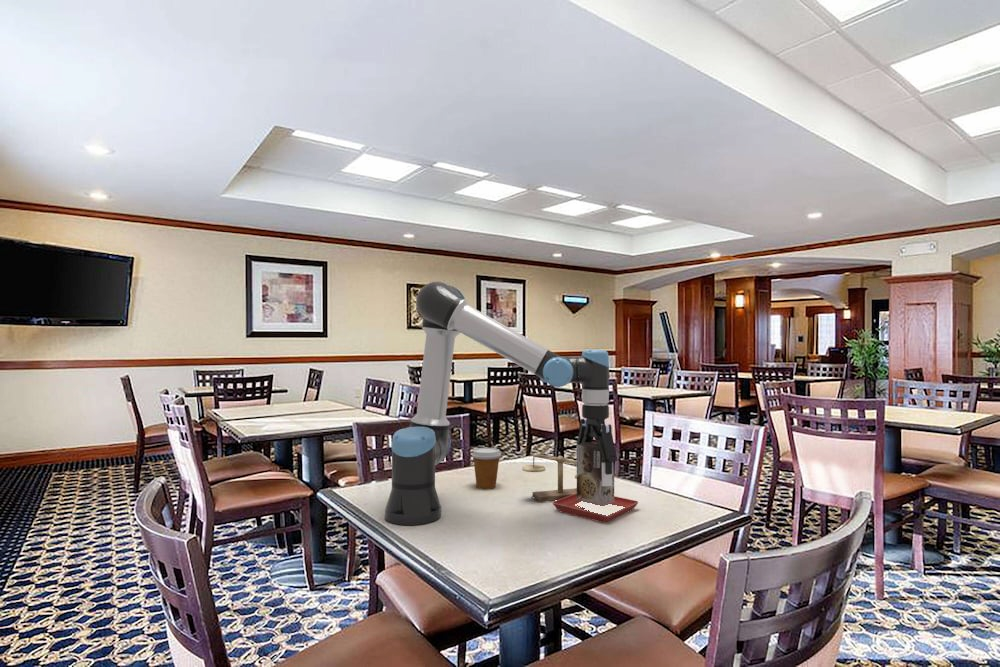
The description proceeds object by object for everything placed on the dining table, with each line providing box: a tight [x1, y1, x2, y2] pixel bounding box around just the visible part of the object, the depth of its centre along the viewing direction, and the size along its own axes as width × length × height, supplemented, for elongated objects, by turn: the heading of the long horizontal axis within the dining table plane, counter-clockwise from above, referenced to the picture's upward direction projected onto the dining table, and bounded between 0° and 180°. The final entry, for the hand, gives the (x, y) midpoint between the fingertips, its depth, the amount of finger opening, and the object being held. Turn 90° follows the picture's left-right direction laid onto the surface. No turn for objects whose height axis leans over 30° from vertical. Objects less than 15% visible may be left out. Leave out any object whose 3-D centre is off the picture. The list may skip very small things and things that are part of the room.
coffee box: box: [576, 441, 615, 506], centre depth 155 cm, size 9×6×16 cm
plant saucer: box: [551, 493, 639, 523], centre depth 155 cm, size 18×18×3 cm
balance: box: [521, 453, 577, 503], centre depth 168 cm, size 25×7×14 cm, turn 108°
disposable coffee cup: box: [471, 447, 502, 490], centre depth 180 cm, size 10×10×12 cm
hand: (595, 480), depth 155 cm, fingers open, 12 cm apart
